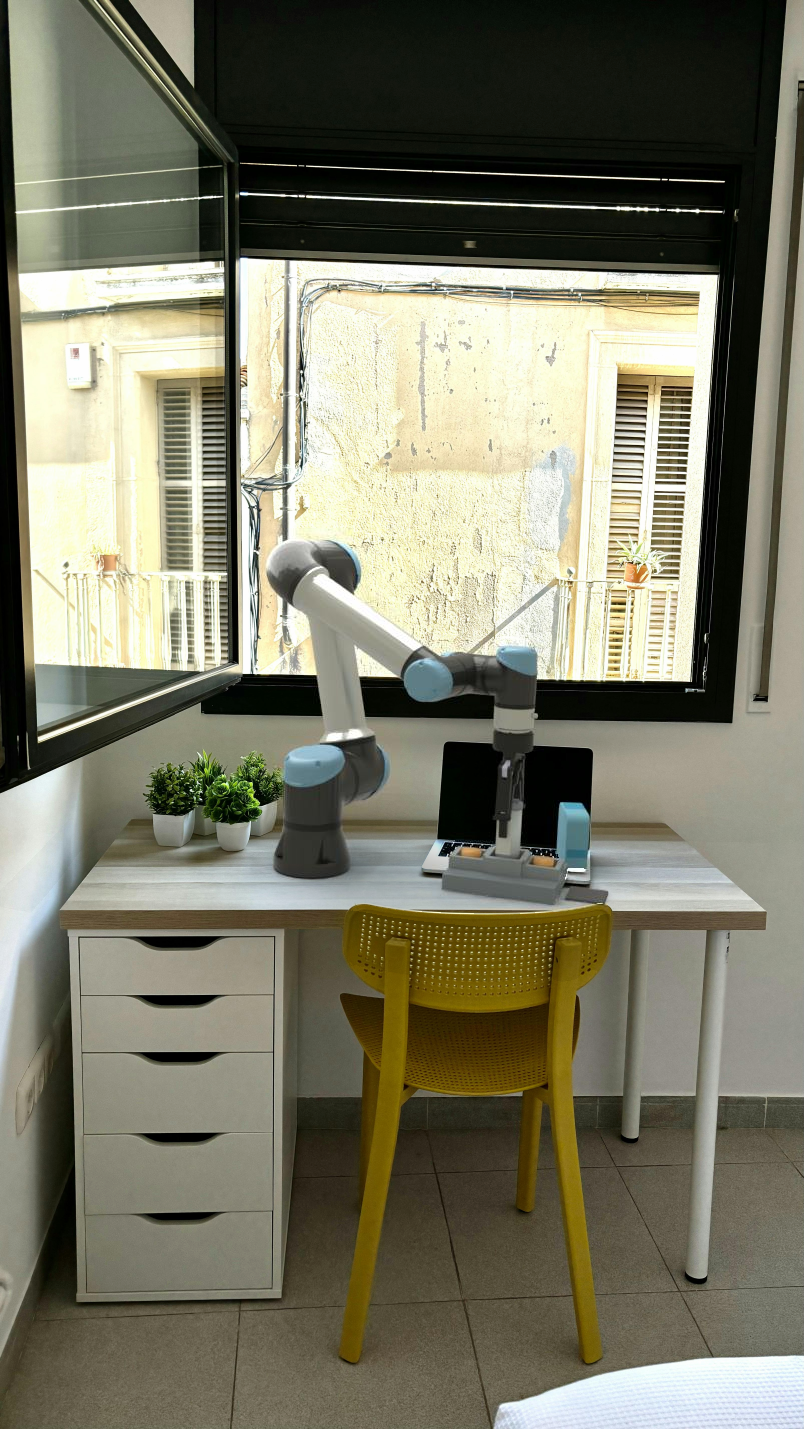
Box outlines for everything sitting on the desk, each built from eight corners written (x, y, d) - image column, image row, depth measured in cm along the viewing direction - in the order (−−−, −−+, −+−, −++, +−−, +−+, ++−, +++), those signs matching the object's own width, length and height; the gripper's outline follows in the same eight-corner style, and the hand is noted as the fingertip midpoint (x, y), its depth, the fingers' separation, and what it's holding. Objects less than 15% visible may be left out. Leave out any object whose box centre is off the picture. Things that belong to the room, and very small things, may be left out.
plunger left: (458, 864, 188) (459, 851, 188) (463, 858, 192) (464, 846, 191) (478, 866, 187) (478, 854, 187) (482, 861, 191) (483, 848, 190)
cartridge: (491, 870, 186) (495, 800, 184) (496, 863, 190) (500, 794, 188) (516, 873, 184) (520, 802, 182) (521, 866, 189) (525, 797, 187)
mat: (564, 899, 180) (565, 897, 180) (570, 888, 187) (570, 886, 187) (603, 905, 178) (603, 903, 178) (607, 893, 185) (608, 890, 185)
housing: (441, 889, 184) (442, 858, 183) (462, 864, 199) (464, 836, 198) (553, 904, 177) (555, 872, 176) (566, 878, 192) (568, 848, 191)
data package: (586, 875, 195) (590, 816, 193) (563, 874, 195) (567, 815, 193) (577, 856, 207) (581, 801, 205) (556, 855, 207) (559, 800, 205)
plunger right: (531, 873, 184) (531, 860, 184) (534, 867, 188) (535, 855, 187) (551, 876, 183) (552, 863, 183) (554, 870, 187) (555, 857, 186)
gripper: (523, 740, 172) (516, 865, 176) (543, 722, 192) (536, 835, 195) (481, 736, 175) (475, 860, 178) (505, 719, 194) (499, 831, 198)
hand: (507, 847), depth 187 cm, fingers open, 8 cm apart
